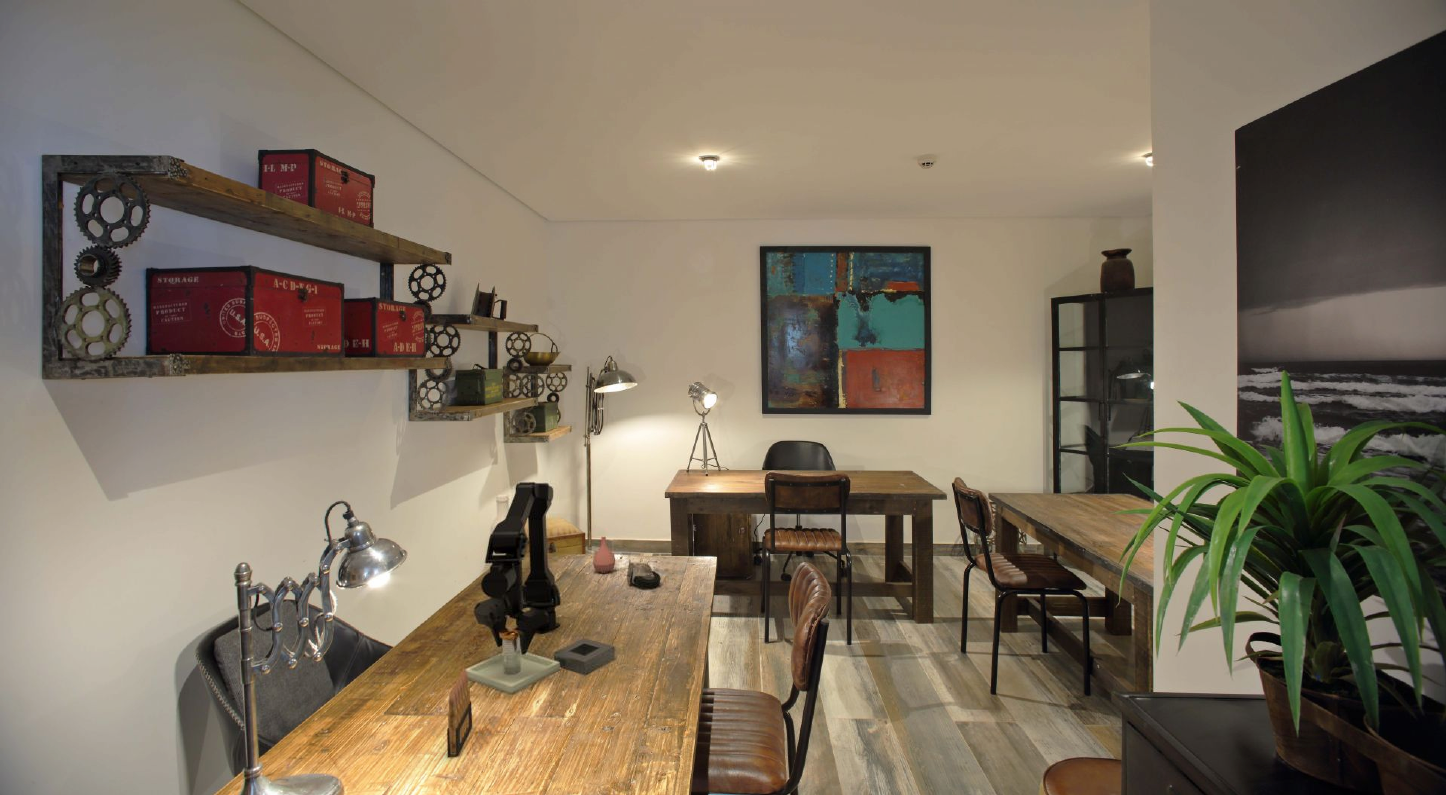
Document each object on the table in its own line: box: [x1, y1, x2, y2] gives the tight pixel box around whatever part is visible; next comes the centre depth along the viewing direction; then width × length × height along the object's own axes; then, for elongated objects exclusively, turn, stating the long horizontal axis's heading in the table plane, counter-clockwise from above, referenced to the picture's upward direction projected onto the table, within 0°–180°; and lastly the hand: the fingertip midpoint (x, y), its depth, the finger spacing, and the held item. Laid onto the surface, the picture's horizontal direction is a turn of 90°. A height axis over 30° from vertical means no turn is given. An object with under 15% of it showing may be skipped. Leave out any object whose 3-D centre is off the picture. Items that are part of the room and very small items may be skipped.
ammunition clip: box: [446, 667, 473, 758], centre depth 126 cm, size 11×2×12 cm, turn 7°
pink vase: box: [592, 536, 616, 574], centre depth 231 cm, size 8×8×12 cm
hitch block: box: [553, 637, 616, 676], centre depth 160 cm, size 10×10×3 cm
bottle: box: [490, 494, 510, 555], centre depth 215 cm, size 8×8×30 cm
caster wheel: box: [626, 559, 661, 590], centre depth 216 cm, size 7×11×10 cm
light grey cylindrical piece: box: [499, 625, 521, 675], centre depth 154 cm, size 5×5×10 cm
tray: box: [465, 649, 561, 696], centre depth 154 cm, size 16×14×2 cm
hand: (511, 650), depth 154 cm, fingers open, 8 cm apart
